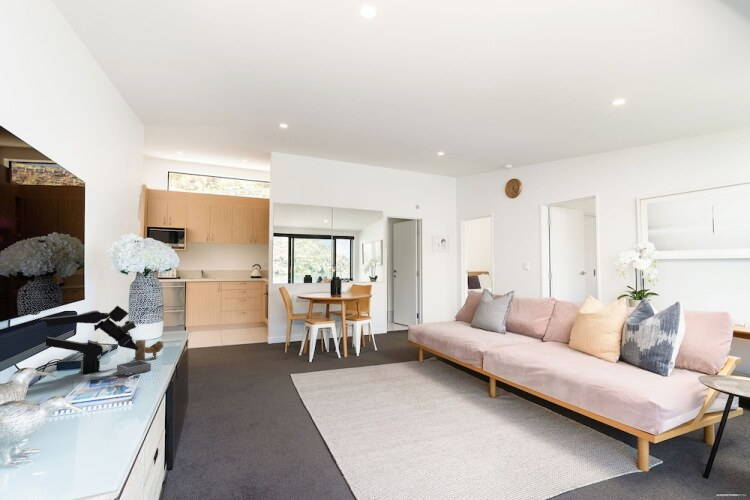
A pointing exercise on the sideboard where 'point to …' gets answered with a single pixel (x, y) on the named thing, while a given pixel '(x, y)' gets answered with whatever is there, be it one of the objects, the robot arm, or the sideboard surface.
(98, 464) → the sideboard surface
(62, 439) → the sideboard surface
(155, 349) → the lion figurine
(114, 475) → the sideboard surface
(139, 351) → the walnut handle
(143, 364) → the box
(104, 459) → the sideboard surface
